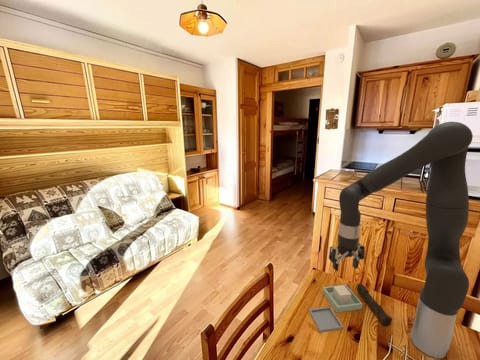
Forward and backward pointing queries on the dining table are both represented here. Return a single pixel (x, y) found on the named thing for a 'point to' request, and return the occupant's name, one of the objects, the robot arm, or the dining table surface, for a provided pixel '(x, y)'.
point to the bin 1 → (325, 319)
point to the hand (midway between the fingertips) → (345, 268)
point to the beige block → (342, 295)
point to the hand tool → (374, 305)
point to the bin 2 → (353, 305)
